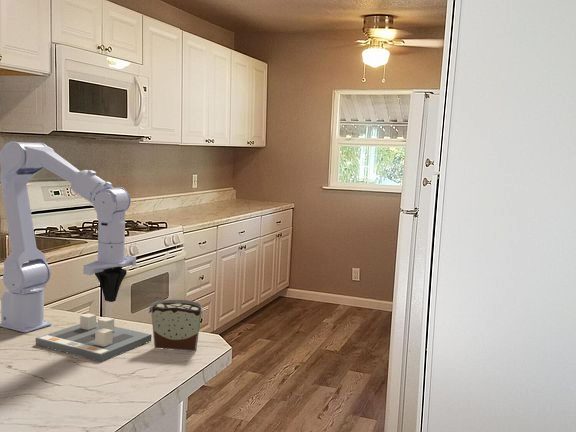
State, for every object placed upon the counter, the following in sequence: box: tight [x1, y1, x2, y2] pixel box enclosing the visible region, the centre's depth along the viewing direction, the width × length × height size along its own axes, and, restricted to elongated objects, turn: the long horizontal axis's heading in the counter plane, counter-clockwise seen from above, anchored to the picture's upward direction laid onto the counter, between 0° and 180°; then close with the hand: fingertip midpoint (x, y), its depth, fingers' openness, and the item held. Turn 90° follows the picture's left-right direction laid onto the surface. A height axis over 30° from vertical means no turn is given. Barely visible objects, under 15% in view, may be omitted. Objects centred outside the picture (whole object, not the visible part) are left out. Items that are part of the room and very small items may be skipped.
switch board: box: [35, 321, 153, 363], centre depth 133 cm, size 19×16×2 cm
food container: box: [148, 299, 205, 353], centre depth 134 cm, size 12×6×10 cm, turn 84°
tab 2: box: [97, 316, 115, 332], centre depth 136 cm, size 2×2×3 cm
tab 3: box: [95, 328, 113, 347], centre depth 128 cm, size 2×2×3 cm
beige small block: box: [79, 312, 97, 330], centre depth 138 cm, size 2×2×3 cm
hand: (110, 300), depth 134 cm, fingers closed
